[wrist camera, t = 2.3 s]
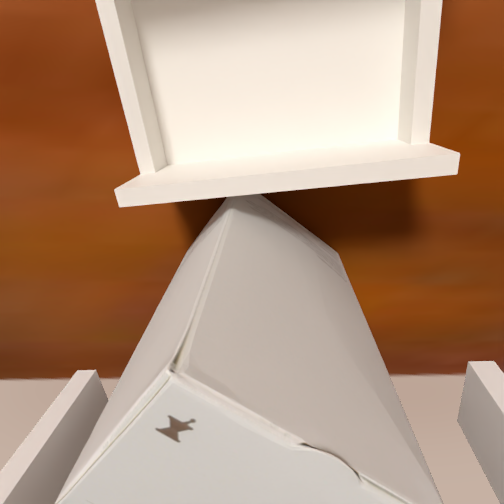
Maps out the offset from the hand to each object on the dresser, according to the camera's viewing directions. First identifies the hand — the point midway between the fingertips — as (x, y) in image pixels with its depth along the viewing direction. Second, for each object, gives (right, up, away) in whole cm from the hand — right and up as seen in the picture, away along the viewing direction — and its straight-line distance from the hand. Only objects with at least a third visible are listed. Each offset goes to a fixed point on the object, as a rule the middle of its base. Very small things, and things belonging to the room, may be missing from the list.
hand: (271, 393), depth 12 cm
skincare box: (0, +5, +10) cm, 11 cm away
